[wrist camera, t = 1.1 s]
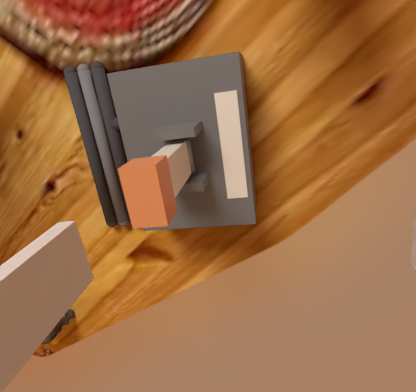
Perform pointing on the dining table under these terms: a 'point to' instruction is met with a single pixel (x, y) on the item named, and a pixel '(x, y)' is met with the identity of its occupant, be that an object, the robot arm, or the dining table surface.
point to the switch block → (194, 133)
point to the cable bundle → (100, 136)
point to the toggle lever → (156, 183)
